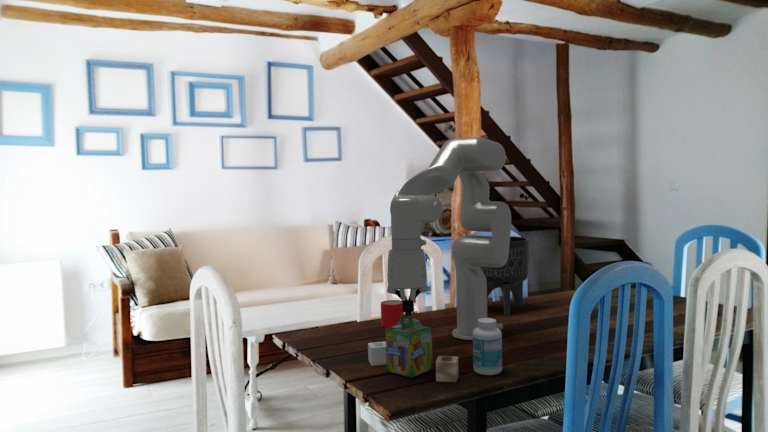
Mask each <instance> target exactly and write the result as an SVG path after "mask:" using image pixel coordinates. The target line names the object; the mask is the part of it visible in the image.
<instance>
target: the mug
mask: <svg viewBox="0 0 768 432" xmlns="http://www.w3.org/2000/svg"><path fill="white" fill-rule="evenodd" d="M403 315H405V312H402V300H401V299H400V300H399V299H389V300H383V301H381V302H380V325H381V327H382V326H383V327H382V328H385V327H386V328H385V329H387V328H389V327H392V326H396V324H397V321H399V320H400V316H403Z"/></svg>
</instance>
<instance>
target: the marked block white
mask: <svg viewBox="0 0 768 432" xmlns="http://www.w3.org/2000/svg"><path fill="white" fill-rule="evenodd" d="M367 356H368V362H369V363H370V366H371V367H373V366H387V365H386V341H375V342H374V341H373V342H367Z"/></svg>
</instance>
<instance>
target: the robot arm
mask: <svg viewBox="0 0 768 432" xmlns="http://www.w3.org/2000/svg"><path fill="white" fill-rule="evenodd" d="M506 159H507V154H506V151H505V148H504V146H503V145H502V144H501V143H499V142H497V141H494V140H492V139H491V140H490V139H487V138H485V137H479V136H474V137H473V136H471V137H470V136H469V137H458V138H457V137H456V138H451V139H448V140H446V141H445V142H444V143H443V144H442V145H441V147H440V149H439V150H438V152H437V153H436V155H435V157H434V158H433V160H432V161H431V163H430V164H429V165H428V167H427V168H425V169H423V170H421V171H419V172H418V173H416V174H415V175H412V176H411V177H410V178H408V179H407V180H405V181H404V182H403V183H402V184H401V185H400V187H399V188H398V189H397V190H396V192H395V194H394V196H393V198H392V200H391V201H390V204H389V205H390V207H389V213H390V229H391V231H390V232H391V235H390V236H391V249H390V250H388V255H387V274H386V275H387V278H386V279H387V288H386V292H387V293H388V294H392V295H396V296H397V297H398V298H399V299H400V301H402V312H404V315H405V316H408V314H409V315H410V316H412V315H413V314H412V313H414V312H415V300H416V298H417V297H418V296H419V295H420V294H423V293H427V292H428V291H429V287H428V275H427V274H428V272H427V263H426V257H425V256H426V255H425V251H424V248H422V247H423V246H427V240H426V239H422V238H421V224H433V223H436V222H437V221H438V220H439V219H440V218H441V217H442V215H443V208H444V207H443V203H442V201H441V200H440V199H439V198H438V197H437V196H435V195H433V194H436V193H440V192H442V191H445V190H447V189H449V188H451V187H452V186H453V185H454V184H455V181H456V180H457V179H458V177H459V179H460V182H461V186H462V190H461V191H462V194H461V204H460V205H461V206H460V217H459V219H460V220H459V221H460V222H459V223H460V226H461V228H462V229H463V230H465V231H468V232H480V233H481V232H484V233H491V235H472V234H471V235H470V234H469V235H461V236H458V237H456V238H455V239H454V241H453V243H452V247H451V251H452V253H451V254H452V259H453V262H454V263H453V264H454V269H455V283H456V285H455V288H456V290H455V294H456V328H454V329H453V330H452V336H453V337H454V338H455V339H456V338H457V339H460V340H466V341H473V331H474V329H475V328H477V327H479V326H478V319H481V318H488V300H487V280H486V277H485V274H484V273H483V271H482V269H481V268H480V267H495V268H499V267H503V266H504V265H505V264H506V262H507V260H508V255H509V245H510V236H511V228H512V213H511V212H512V211H511V209H510V207H509V205H508V204H507V203H506V202H503V201H500V200H499V201H496V200H494V201H492V200H490V189H491V188H490V184H489V181H488V180H487V178H486V177H485V175H483V173H482V172H494V171H499V170H501V169H503V167H504V166H505V164H506V161H507V160H506ZM405 290H409V291H410V292H409V296H408V297H407V296H406V291H405ZM412 317H413V316H412ZM503 324H504V323H502V322H497V321H496V326H495V327H496V328H498V329H499V330H503V329H504V325H503Z"/></svg>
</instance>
